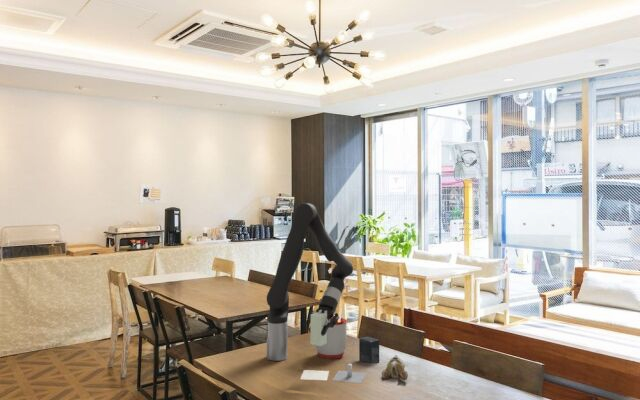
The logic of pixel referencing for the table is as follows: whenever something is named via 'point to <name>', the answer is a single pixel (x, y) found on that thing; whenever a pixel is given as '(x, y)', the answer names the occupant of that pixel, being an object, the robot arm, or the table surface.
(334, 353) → the citrus juicer
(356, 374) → the post stand
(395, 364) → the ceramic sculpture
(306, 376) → the mat
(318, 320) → the pale green pillar
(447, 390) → the table surface
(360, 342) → the box
